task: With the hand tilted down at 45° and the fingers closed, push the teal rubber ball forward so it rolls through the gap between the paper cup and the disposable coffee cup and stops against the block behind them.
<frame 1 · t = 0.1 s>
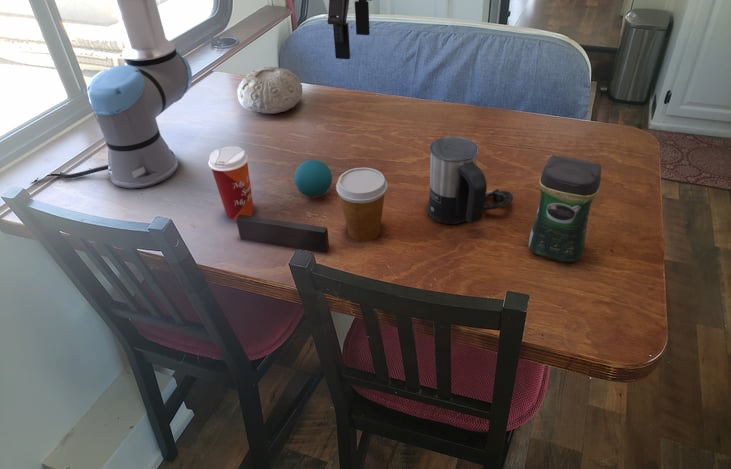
hand: (353, 45, 109), 28 cm above the table, tool pointing down, fingers open, 13 cm apart
milk frother: (468, 209, 111), on the table
paper cup: (240, 213, 113), on the table
ball: (313, 178, 115), point 4 cm above the table
coffee jar: (554, 249, 100), on the table
block: (284, 243, 105), on the table
decorative shell: (272, 107, 152), on the table
disposable coffee cup: (364, 231, 107), on the table
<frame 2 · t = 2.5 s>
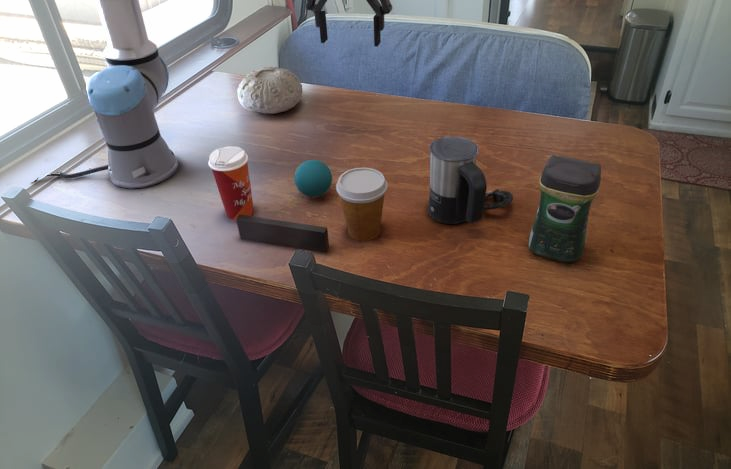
hand: (350, 42, 126), 23 cm above the table, tool pointing down, fingers open, 12 cm apart
nothing on the table moved.
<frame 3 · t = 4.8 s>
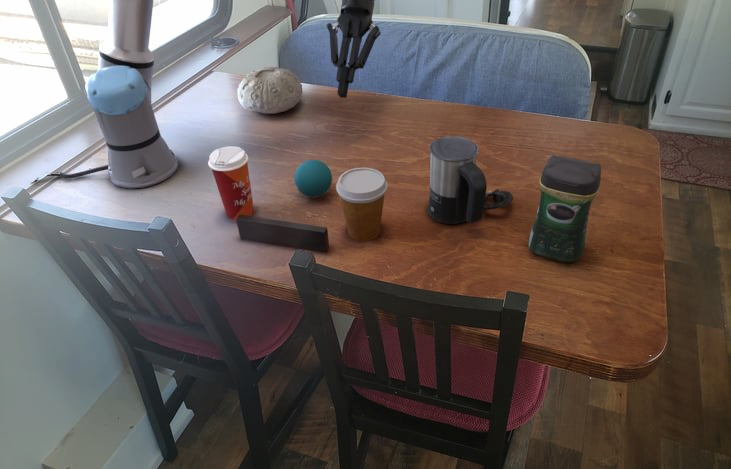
hand: (341, 95, 125), 13 cm above the table, tool tilted 45°, fingers closed
nothing on the table moved.
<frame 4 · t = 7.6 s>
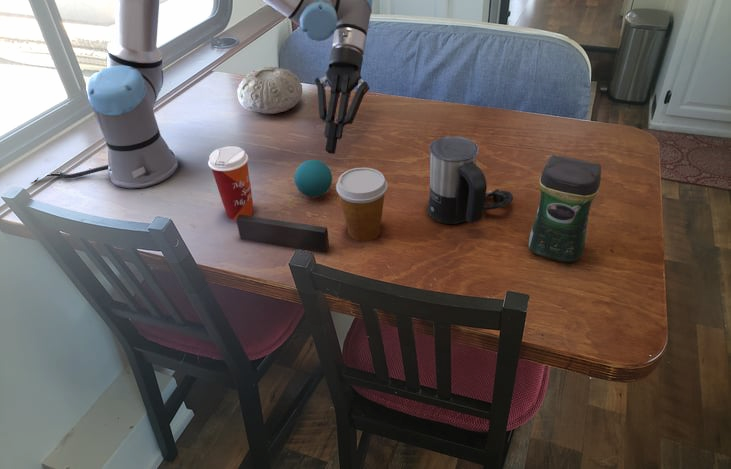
hand: (330, 151, 123), 4 cm above the table, tool tilted 45°, fingers closed
nothing on the table moved.
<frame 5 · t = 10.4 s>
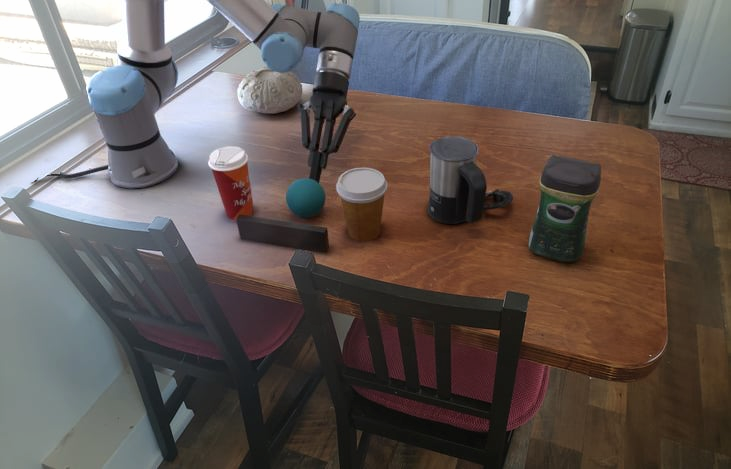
hand: (313, 182, 116), 3 cm above the table, tool tilted 45°, fingers closed
ball: (305, 198, 110), point 4 cm above the table, tilted 103°
everything else where it was.
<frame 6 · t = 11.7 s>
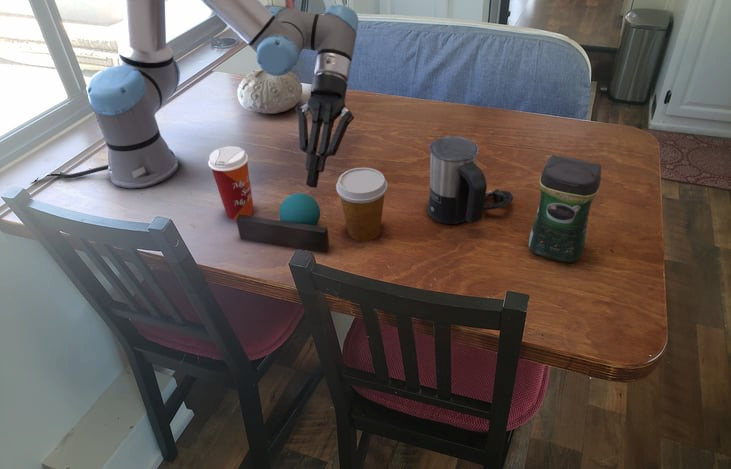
hand: (311, 185, 115), 3 cm above the table, tool tilted 45°, fingers closed
ball: (299, 213, 105), point 4 cm above the table, tilted 180°
everything else where it was.
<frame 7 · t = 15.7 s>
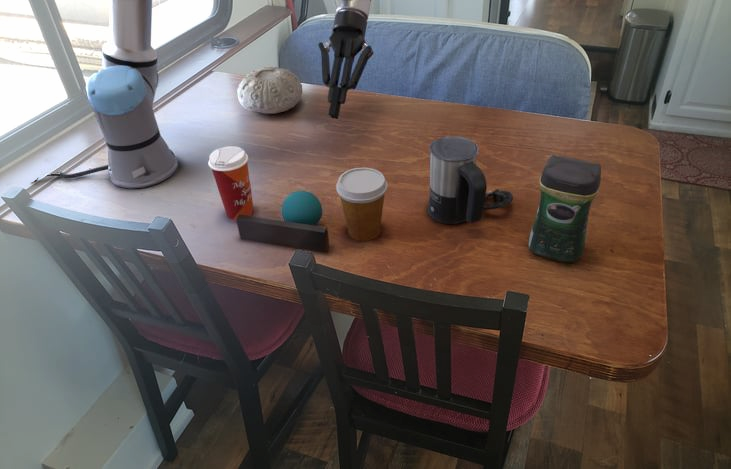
hand: (333, 116, 122), 11 cm above the table, tool tilted 45°, fingers closed
ball: (301, 210, 106), point 4 cm above the table, tilted 166°
everything else where it was.
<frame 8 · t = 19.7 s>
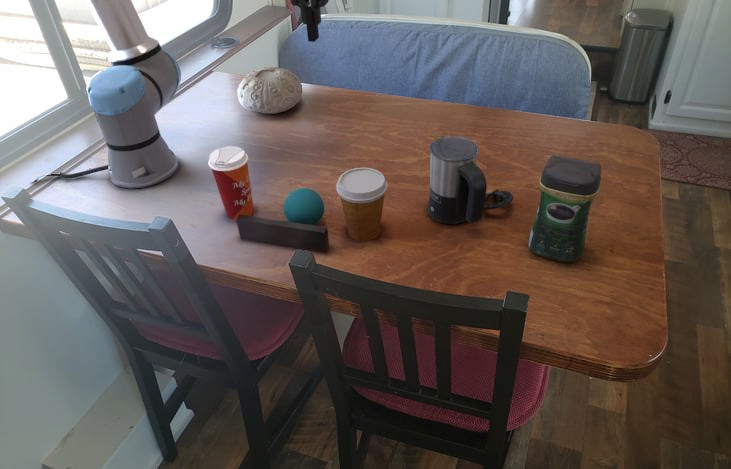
hand: (313, 39, 117), 26 cm above the table, tool pointing down, fingers closed
ball: (304, 208, 107), point 4 cm above the table, tilted 153°
everything else where it was.
at the end: ball inside the target area (2.1 cm from its centre), point 4.0 cm above the table; paper cup moved 0.2 cm from its start; disposable coffee cup moved 0.2 cm from its start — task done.
